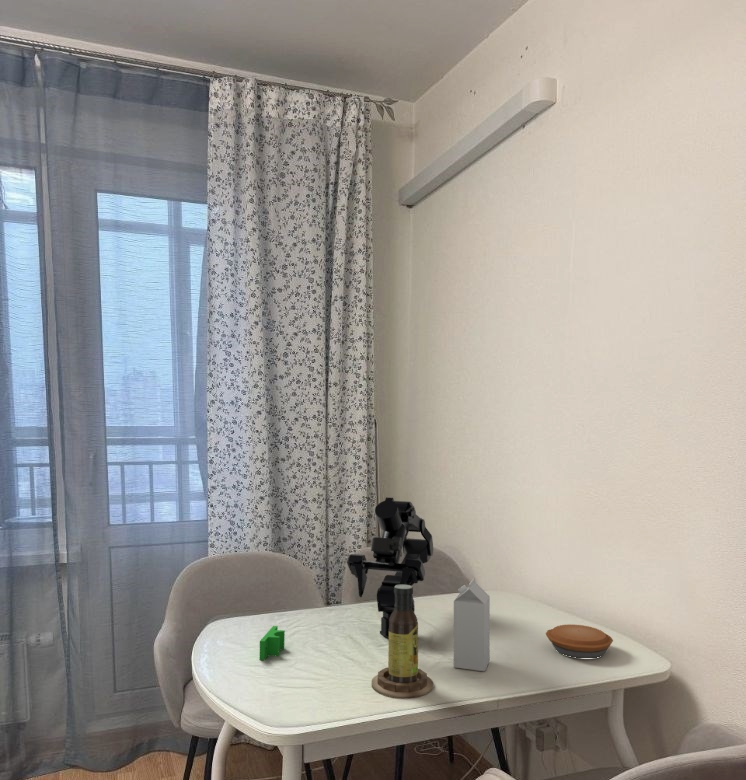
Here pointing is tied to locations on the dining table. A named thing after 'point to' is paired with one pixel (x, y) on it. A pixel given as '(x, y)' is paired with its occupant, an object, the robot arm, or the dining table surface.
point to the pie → (579, 641)
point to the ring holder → (402, 685)
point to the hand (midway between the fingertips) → (378, 598)
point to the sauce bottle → (403, 638)
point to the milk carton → (472, 628)
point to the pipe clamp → (272, 642)
